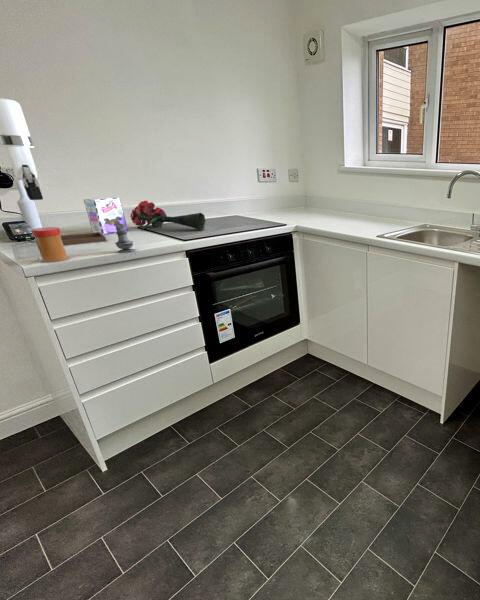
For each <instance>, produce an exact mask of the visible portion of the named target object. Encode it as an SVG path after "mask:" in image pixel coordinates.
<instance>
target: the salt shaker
mask: <svg viewBox="0 0 480 600" xmlns="http://www.w3.org/2000/svg"><path fill="white" fill-rule="evenodd" d="M116 230H117V232H115V233H116V235H117V239H118V240H117V241H116V242H115V243H114V244H115V246H116V247H117V248H118V249H119V250H118V253H120V254H124V253H128V254H129V253H133V252H135V249H133V248H132V247H133V245H134V244H133V243H134V241H132V240H130V239H129V237H128V232H127V230H125V226H124V225H123V224H121V223H120V222H118V224H116Z"/></svg>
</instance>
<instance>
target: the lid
mask: <svg viewBox="0 0 480 600" xmlns="http://www.w3.org/2000/svg"><path fill="white" fill-rule="evenodd" d="M31 232H32V235H33V236H53V235H58V234H60V235H61V234H62V232H61V229H60V227H56V226H55V227H53V226H47V227H42V228H36V229H32V230H31Z"/></svg>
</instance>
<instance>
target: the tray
mask: <svg viewBox="0 0 480 600" xmlns="http://www.w3.org/2000/svg"><path fill="white" fill-rule="evenodd" d="M60 236H61V239H62V242H63V245H64V246H73V245H82V244H83V245H84V244H92V243H101V242H107V239H106V236H105V235H102V234H101V233H100V232H97V233H93V232H86V233H75V234H64V235H63V234H62V235H60Z"/></svg>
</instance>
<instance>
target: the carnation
mask: <svg viewBox="0 0 480 600" xmlns="http://www.w3.org/2000/svg"><path fill="white" fill-rule="evenodd" d="M155 207H156V204H155V203H154V202H152V201H151V202H149V201H148V200H143V201H140V202H139V203H138V204H137V205H136V207H134V209H132V210H131V213H130V219H131V223H133V224H134V225H135V226H138V227H142V228H141V231H144V229H145V228H147V227H149V226H150V225H151V227H153V228H160V227H162V226H163V225H164V223H171V224H173V223H174V224H177V225H181V226H185V227H189V228H193V229H195V230H200V231H204V230H205V228H206V216H205V214H204V213H203V212H196V213H190V214H189V213H188V214H184V215H176V216H175V215H174V216H168V215H167V213H166V212H165V210H163V209H162V208H160V207H156V208H155ZM144 225H145V226H144Z"/></svg>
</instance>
